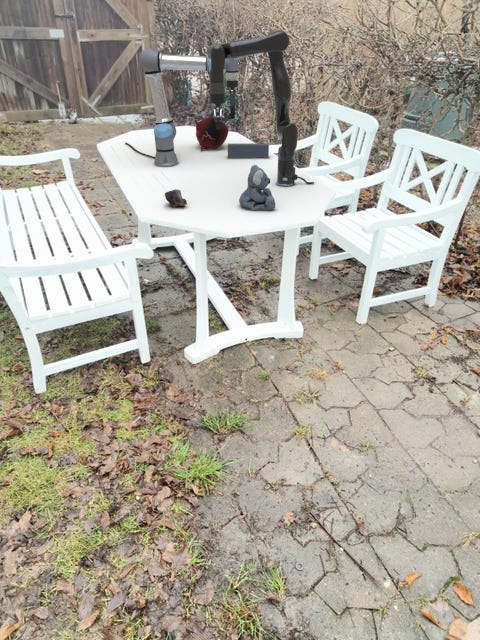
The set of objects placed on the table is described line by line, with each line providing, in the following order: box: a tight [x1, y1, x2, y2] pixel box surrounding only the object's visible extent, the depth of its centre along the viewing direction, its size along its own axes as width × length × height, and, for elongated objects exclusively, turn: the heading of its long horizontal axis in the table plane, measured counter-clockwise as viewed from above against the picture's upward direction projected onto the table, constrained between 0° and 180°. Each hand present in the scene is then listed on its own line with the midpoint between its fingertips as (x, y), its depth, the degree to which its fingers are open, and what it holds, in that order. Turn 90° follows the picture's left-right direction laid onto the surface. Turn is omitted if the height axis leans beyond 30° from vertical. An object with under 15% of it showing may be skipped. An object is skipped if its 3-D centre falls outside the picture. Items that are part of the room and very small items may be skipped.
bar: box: [227, 142, 270, 160], centre depth 303 cm, size 27×5×8 cm, turn 89°
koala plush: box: [238, 164, 276, 211], centre depth 224 cm, size 17×18×20 cm
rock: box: [164, 188, 188, 207], centre depth 228 cm, size 12×9×10 cm
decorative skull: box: [193, 116, 229, 152], centre depth 324 cm, size 21×24×25 cm
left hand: (232, 116), depth 291 cm, fingers open, 13 cm apart
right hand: (218, 127), depth 228 cm, fingers open, 8 cm apart
